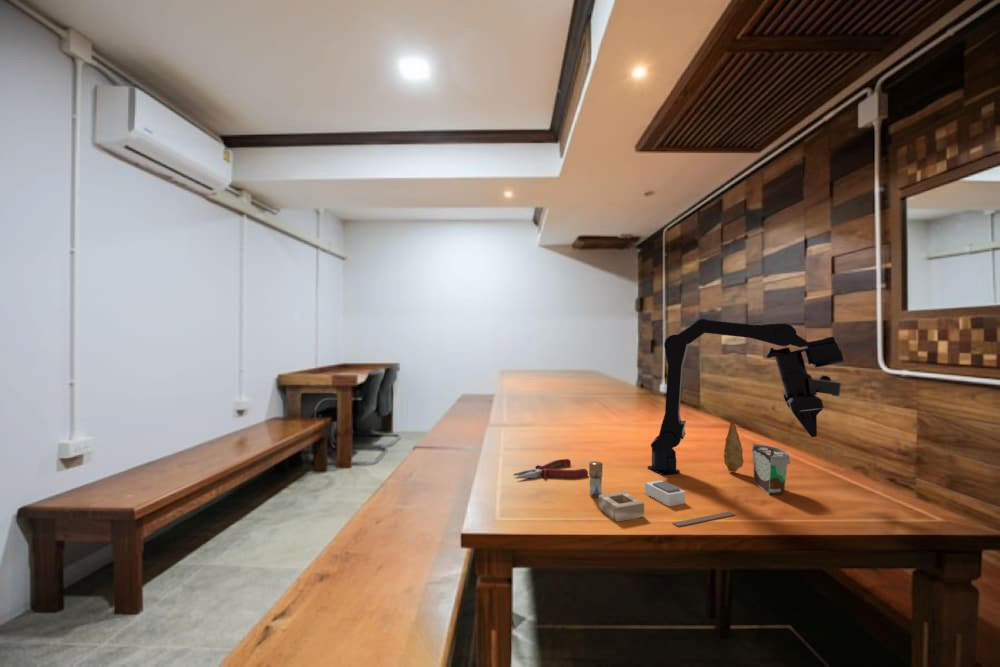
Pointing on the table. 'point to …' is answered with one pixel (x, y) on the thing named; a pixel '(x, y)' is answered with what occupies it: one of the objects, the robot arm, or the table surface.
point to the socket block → (621, 506)
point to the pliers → (553, 471)
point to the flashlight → (595, 478)
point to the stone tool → (733, 449)
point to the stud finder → (665, 493)
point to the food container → (770, 468)
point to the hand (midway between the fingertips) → (811, 432)
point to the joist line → (703, 519)
